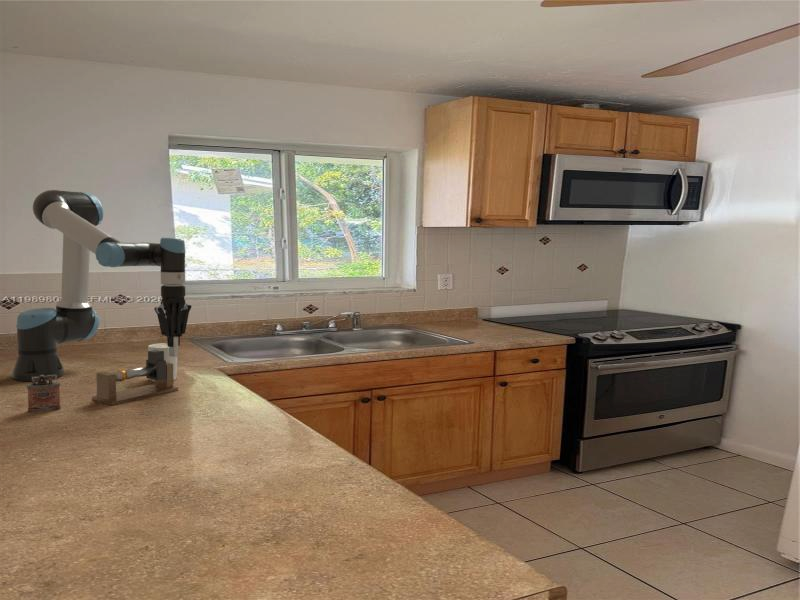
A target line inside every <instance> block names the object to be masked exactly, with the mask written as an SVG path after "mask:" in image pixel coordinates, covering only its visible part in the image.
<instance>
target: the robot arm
mask: <svg viewBox="0 0 800 600" xmlns="http://www.w3.org/2000/svg"><path fill="white" fill-rule="evenodd" d="M32 211H33V214H34V216H35V219H36V220H37V221H38V222H40V223H41V224H42V225H44V226H45V227H47V228H49V229H52V230H53V229H55V230H57V231H59V232H60V233H62V260H61V262H62V265H61V290H60V291H61V296H60V298H61V299H60V300H59V301H58V302H57V303H56V304H55V308H53V307H42V308H41V307H40V308H33V309H28V310H24V311H22V312H20V313H19V314H18V315H17V317H16V330H17V331H16V333H17V354H18V355H17V358H16V361H15V364H14V367H13V371H12V379H13V380H15V381H20V382H21V381H22V382H32V377H39V376H40V375H44V376H47V375H57V378H60V377H62V376H63V375H64V367H63V364H62V362H61V360H60V357H59V355H58V345H59V344H65V343H72V342H82V341H85V340H88V339H91V338H92V337H93V336H94V335H96V333H97V331H98V329H99V325H100V318H99V316H98V312H97V311H96V310H95V309H94V308H93V304H92V303H91V302H90V301H89V283H90V282H89V280H90V279H89V277H90V254H91V253H93V254H95V258H96V260H97V262H98V264H99V265H100V266H102V267H108V268H119V267H121V268H122V267H151V266H152V267H160V284H161V286H160V296H161V301H160V305H158V306H155V307H154V308H153V309H154V311H155V313H156V315H157V319H158V324H159V329H160V333H161V335H162V336H165V337H166V338H167V342H166V343H167V345H168V347H169V356H172V357H177V356H178V357H179V346H180V345H181V340H180V339H181V337H182V336H183V335H185V334H186V330H187V325H188V320H189V314H190V311H191V309H192V305H191V304H188V303H186V300H185V297H186V286H185V284H186V245H185V243H186V241H185V240H184V238H182V237H161V238H160V241H159V242H160V243H157V242H156V243H155V242H122V241H120V240H118V239H117V238H115V237H113V236H111V235H110V234H108V233H107V232H106V231H104V230H103V229H100V227H98V226H99V225H100V224H101V223H102V221H103V220H104V208H103V205H102V203H101V201H100V200H99V198H98V197H96V195H94V194H91V193H86V192H83V191H69V190H67V191H66V190H59V189H49V190H46V191H42V192H41V193H39V194H38V195H37V196H36V197H35V198H34V201H33V203H32ZM90 252H91V253H90Z"/></svg>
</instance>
